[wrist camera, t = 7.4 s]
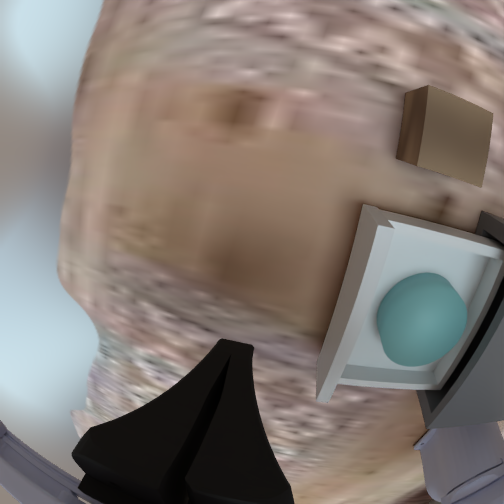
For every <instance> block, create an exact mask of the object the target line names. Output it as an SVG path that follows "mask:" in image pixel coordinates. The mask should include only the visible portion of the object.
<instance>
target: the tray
mask: <svg viewBox="0 0 504 504" xmlns="http://www.w3.org/2000/svg"><path fill="white" fill-rule="evenodd" d="M418 273H435V274H438V275H441V276H443V277H444V278H445V279H447V280H448V281H449V282H450V284H451V285H452V286H453V287H454V289H455V290H456V291H457V293H458V294H459V295H460V297H461V298H462V300H463V301H464V303H465V305H466V308H467V323H466V327H465V330H464V332H463V334H462V336H461V338H460V339H459V341H458V342H457V344H456V345H455V346H454V347H453V348H452V349H451V350H450V351H449V352H448V353H447V354H445V355H444V356H443V357H441V358H439V359H438V360H436V361H434V362H432V363H429V364H426V365H422V366H416V367H407V366H402V365H398V364H396V363H394V362H393V361H391V360H390V359H389V358H388V357H387V355H386V354H385V352H384V350H383V346H382V342H381V338H380V335H379V331H378V327H377V312H378V308H379V306H380V303H381V301H382V300H383V298H384V296H385V295H386V294H387V293H388V291H389V290H390V289H391V288H392V287H393V286H395V285H396V284H397V283H398V282H400V281H401V280H403V279H405V278H407V277H409V276H412V275H415V274H418ZM503 276H504V246H503V245H501V244H500V243H499V242H497V241H495V240H492V239H489V238H486V237H483V236H479V235H476V234H473V233H469V232H466V231H462V230H459V229H455V228H452V227H448V226H444V225H441V224H437V223H433V222H429V221H425V220H422V219H418V218H414V217H410V216H405V215H401V214H397V213H393V212H389V211H384V210H380V209H378V208H377V207H375V206H370V205H366V204H363V206H362V210H361V215H360V219H359V223H358V227H357V232H356V236H355V240H354V244H353V247H352V251H351V255H350V259H349V262H348V266H347V270H346V273H345V277H344V280H343V284H342V287H341V290H340V294H339V297H338V300H337V304H336V307H335V310H334V313H333V316H332V319H331V322H330V325H329V328H328V331H327V334H326V337H325V340H324V343H323V346H322V349H321V352H320V355H319V357H318V360H317V381H316V401H317V402H326V403H328V402H329V400H330V398H331V396H332V394H333V392H334V390H335V388H336V386H337V384H345V385H354V386H365V387H377V388H391V389H412V390H441V388H442V387H443V386H444V384H445V383H446V381H447V380H448V378H449V377H450V375H451V374H452V372H453V371H454V369H455V368H456V366H457V365H458V363H459V362H460V360H461V358H462V357H463V355H464V354H465V352H466V350H467V349H468V347H469V345H470V343H471V342H472V340H473V338H474V336H475V335H476V333H477V331H478V329H479V327H480V325H481V324H482V322H483V320H484V318H485V316H486V314H487V312H488V310H489V308H490V306H491V304H492V301H493V299H494V297H495V295H496V293H497V290H498V288H499V286H500V284H501V281H502V279H503Z"/></svg>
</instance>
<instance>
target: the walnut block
mask: <svg viewBox="0 0 504 504" xmlns="http://www.w3.org/2000/svg"><path fill="white" fill-rule="evenodd" d="M492 122H493V113H491V112H489V111H487V110H485V109H483V108H481V107H479V106H477V105H475V104H473V103H471V102H469V101H466V100H464V99H462V98H460V97H457V96H455V95H453V94H450V93H448V92H445V91H443V90H440V89H438V88H435V87H432V86H430V85H427V86H424V87H421V88H418V89H416V90H413V91H410V92H407V93H406V95H405V103H404V111H403V119H402V126H401V132H400V138H399V144H398V150H397V156H396V159H399V160H402V161H404V162H407V163H410V164H413V165H416V166H419V167H422V168H425V169H429V170H432V171H435V172H438V173H441V174H444V175H447V176H450V177H453V178H456V179H459V180H462V181H464V182H467V183H470V184H473V185H475V186H478V187H480V188H481V187H482V183H483V178H484V173H485V168H486V163H487V158H488V152H489V145H490V138H491V131H492Z"/></svg>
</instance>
